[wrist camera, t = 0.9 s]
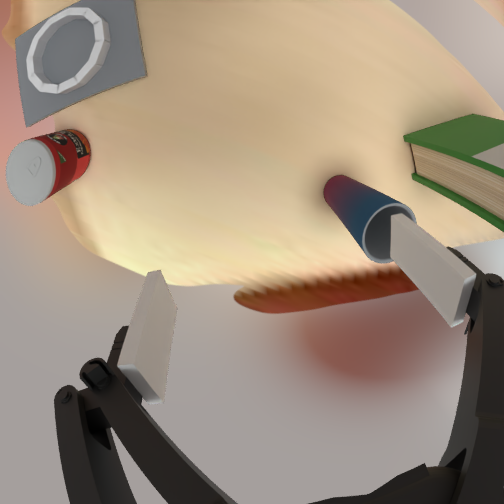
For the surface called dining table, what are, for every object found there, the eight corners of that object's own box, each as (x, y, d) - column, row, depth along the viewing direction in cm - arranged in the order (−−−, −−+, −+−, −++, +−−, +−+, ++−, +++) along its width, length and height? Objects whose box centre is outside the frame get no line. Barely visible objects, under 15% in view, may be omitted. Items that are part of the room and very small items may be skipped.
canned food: (101, 144, 34) (62, 159, 24) (77, 190, 36) (39, 219, 27) (63, 119, 31) (18, 128, 21) (42, 166, 34) (-2, 187, 24)
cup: (312, 209, 41) (353, 260, 28) (324, 164, 38) (374, 196, 25) (353, 216, 43) (403, 266, 29) (365, 174, 40) (424, 210, 26)
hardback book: (412, 179, 40) (525, 247, 19) (403, 135, 37) (530, 181, 16) (478, 152, 39) (579, 197, 18) (473, 113, 35) (581, 146, 14)
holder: (18, 39, 23) (6, 37, 20) (132, -18, 23) (125, -27, 20) (29, 126, 30) (16, 129, 27) (147, 76, 30) (140, 73, 27)
